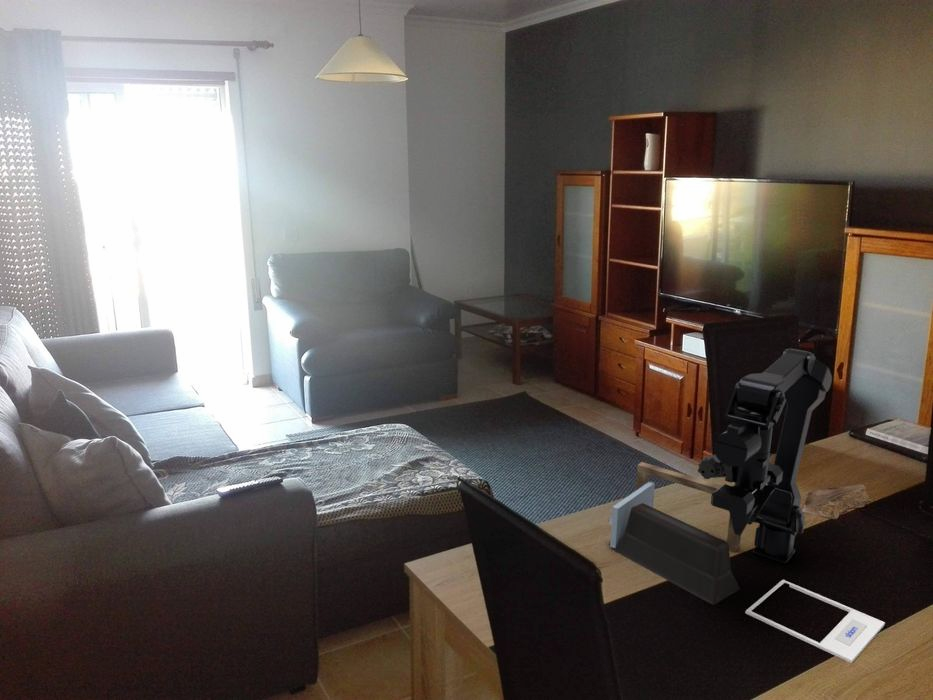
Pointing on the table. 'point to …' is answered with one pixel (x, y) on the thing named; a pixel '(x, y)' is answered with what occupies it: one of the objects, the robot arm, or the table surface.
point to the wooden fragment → (835, 501)
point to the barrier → (678, 553)
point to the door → (628, 510)
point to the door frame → (688, 481)
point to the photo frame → (844, 637)
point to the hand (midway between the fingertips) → (743, 529)
